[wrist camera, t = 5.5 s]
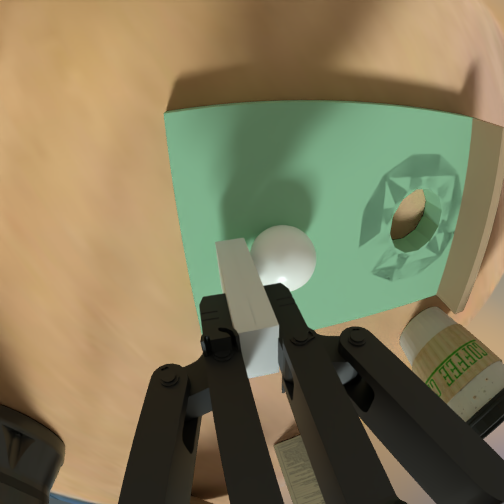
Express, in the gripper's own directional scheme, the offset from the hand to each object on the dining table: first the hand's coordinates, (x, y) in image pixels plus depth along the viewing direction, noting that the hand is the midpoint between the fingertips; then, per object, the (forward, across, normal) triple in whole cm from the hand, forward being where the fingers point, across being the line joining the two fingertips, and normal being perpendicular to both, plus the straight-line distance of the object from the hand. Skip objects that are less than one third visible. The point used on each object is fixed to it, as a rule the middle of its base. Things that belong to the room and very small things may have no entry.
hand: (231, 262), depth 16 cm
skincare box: (+4, +6, -34) cm, 35 cm away
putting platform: (+4, +8, 0) cm, 9 cm away
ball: (0, +3, 0) cm, 3 cm away
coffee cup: (+4, +20, -15) cm, 26 cm away
